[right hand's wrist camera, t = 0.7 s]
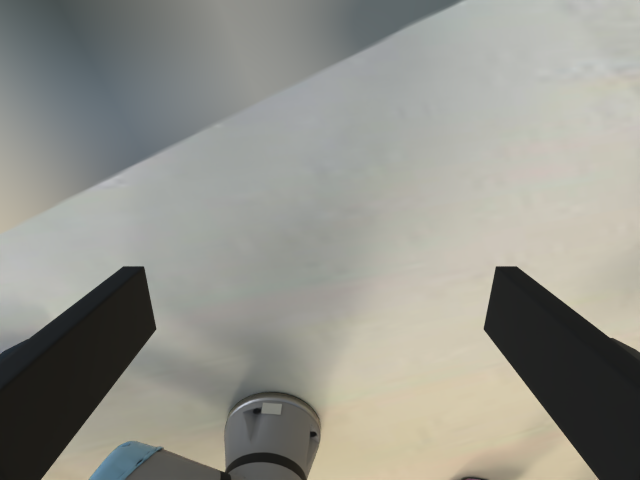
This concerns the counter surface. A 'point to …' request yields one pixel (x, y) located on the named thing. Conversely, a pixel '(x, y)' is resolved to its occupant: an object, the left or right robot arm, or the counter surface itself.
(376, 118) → the counter surface
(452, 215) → the counter surface
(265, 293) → the counter surface
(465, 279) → the counter surface
